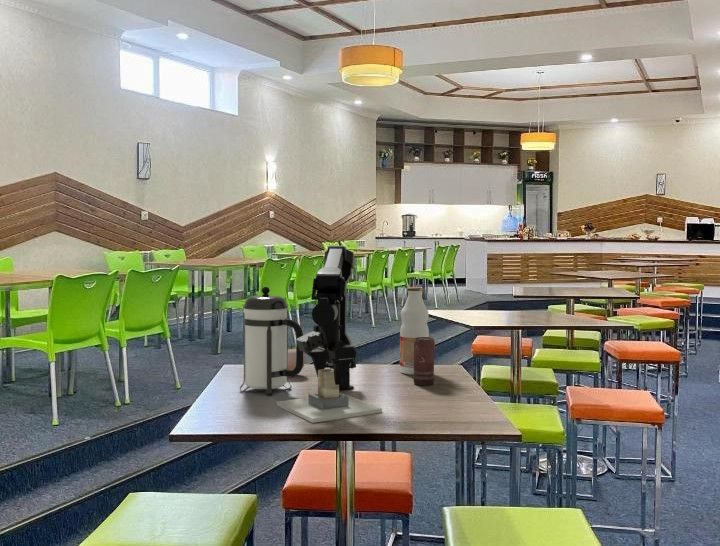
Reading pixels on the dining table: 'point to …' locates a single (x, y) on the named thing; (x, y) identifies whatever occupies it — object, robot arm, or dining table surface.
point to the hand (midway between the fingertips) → (328, 381)
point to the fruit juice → (412, 327)
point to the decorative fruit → (293, 358)
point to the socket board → (319, 415)
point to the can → (424, 361)
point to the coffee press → (268, 343)
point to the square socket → (328, 401)
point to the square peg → (327, 384)
